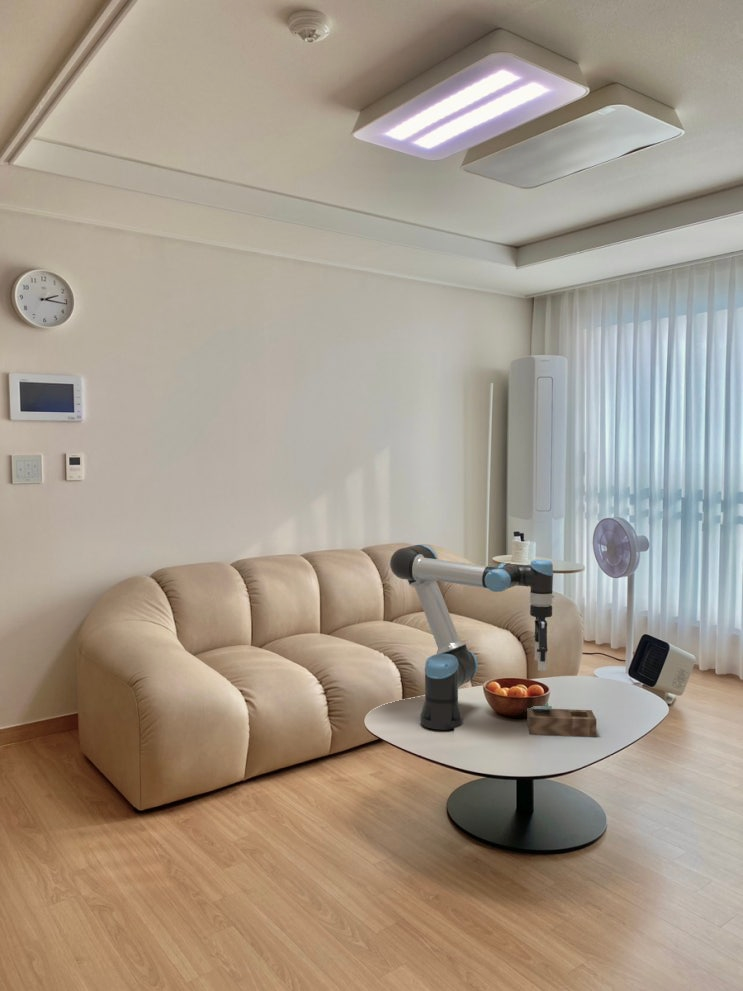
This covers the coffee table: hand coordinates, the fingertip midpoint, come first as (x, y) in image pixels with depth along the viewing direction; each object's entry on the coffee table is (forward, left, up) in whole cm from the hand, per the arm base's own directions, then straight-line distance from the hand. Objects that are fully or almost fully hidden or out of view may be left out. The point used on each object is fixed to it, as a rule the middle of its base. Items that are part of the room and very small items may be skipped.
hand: (540, 665), depth 275 cm
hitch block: (+7, -4, -22) cm, 23 cm away
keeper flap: (0, -1, -15) cm, 15 cm away
